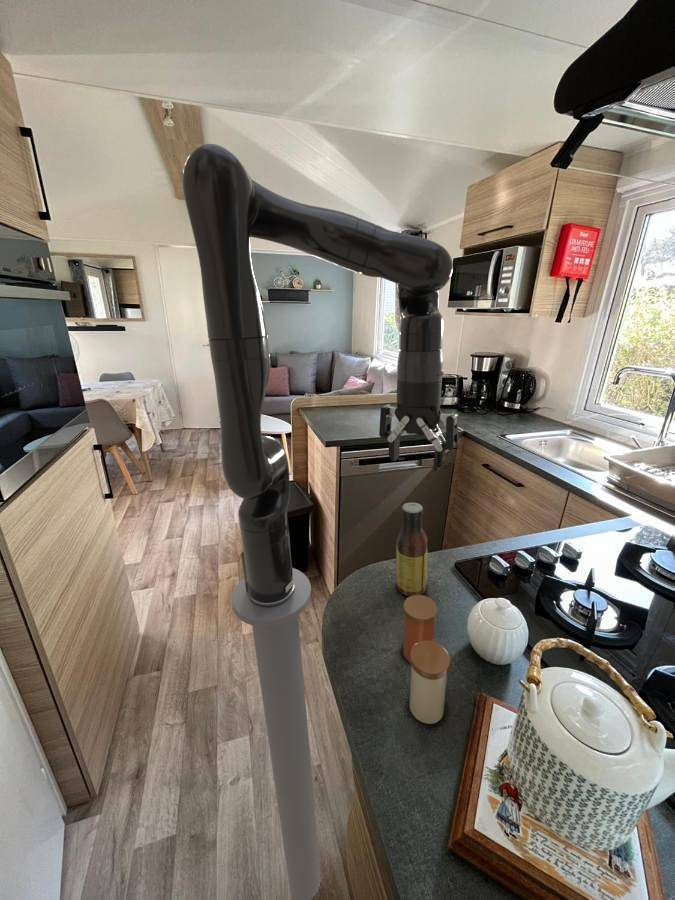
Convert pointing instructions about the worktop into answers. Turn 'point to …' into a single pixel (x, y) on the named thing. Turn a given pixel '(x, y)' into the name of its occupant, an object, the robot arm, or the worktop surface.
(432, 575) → the worktop surface
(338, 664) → the worktop surface
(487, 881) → the worktop surface
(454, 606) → the worktop surface
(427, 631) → the terracotta jar
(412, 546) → the sauce bottle
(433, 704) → the cream jar
